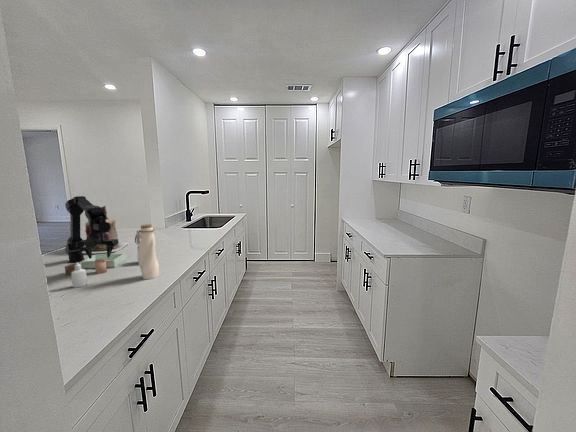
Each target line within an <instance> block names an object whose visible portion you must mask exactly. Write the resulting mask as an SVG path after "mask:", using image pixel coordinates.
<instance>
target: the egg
mask: <svg viewBox="0 0 576 432" xmlns="http://www.w3.org/2000/svg"><path fill="white" fill-rule="evenodd" d="M94 262H95V274H97V275H102V274H106V273H107V269H108V268H106V260H105V259H98V260H95V261H94Z"/></svg>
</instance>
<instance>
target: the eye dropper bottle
mask: <svg viewBox="0 0 576 432" xmlns="http://www.w3.org/2000/svg"><path fill="white" fill-rule="evenodd" d="M79 263H80V262H77V263H75V264H76V265H75V270H74V271H73V272H72V273H71V275H70V276H71V283H72V288H74V289H77V288H78V289H79V288H81V287H84V286H87V285H88V277H87V271H86V270H87V269H82V264H81V265H80V264H79Z"/></svg>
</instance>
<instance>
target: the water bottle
mask: <svg viewBox="0 0 576 432" xmlns="http://www.w3.org/2000/svg"><path fill="white" fill-rule="evenodd" d="M154 231H156V230H155V228H153V226H152V224H151V223H148V224H147V223H146V224H145V223H144V224H141V225H140V230H136V234H135V237H134V243H135V244H136V246H139V248H137V263H138V265H139V268H140V272H141V276H142V279H144V280H151V279H156V278H157V277H159V275H160V265H159V261H158V258H157V254H156V253H157V252H156V237H155V234H154Z"/></svg>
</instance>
